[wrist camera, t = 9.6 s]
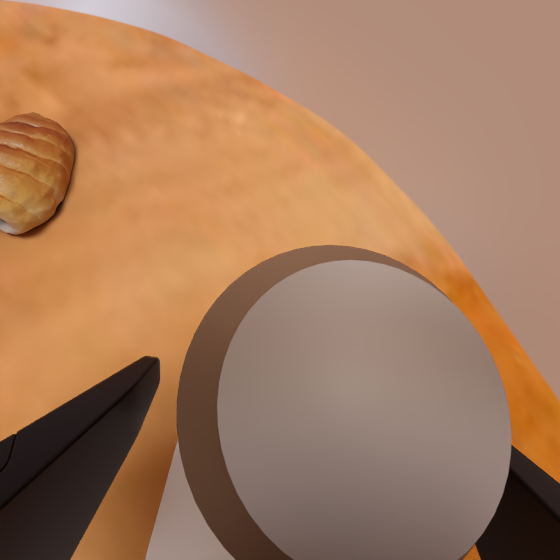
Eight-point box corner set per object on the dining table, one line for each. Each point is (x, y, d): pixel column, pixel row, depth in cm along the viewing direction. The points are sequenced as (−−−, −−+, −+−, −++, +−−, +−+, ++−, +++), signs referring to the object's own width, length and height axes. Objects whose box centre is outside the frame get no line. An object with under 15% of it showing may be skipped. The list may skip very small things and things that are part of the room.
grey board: (309, 960, 11) (315, 1024, 10) (53, 917, 11) (30, 976, 10) (362, 343, 20) (368, 341, 18) (215, 314, 19) (213, 309, 18)
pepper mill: (336, 428, 17) (648, 602, 3) (239, 447, 16) (164, 764, 3) (316, 332, 18) (473, 203, 5) (228, 346, 18) (150, 238, 4)
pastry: (18, 125, 23) (-24, 78, 20) (101, 143, 24) (74, 100, 20) (-49, 224, 20) (-114, 190, 17) (47, 245, 20) (4, 215, 17)
